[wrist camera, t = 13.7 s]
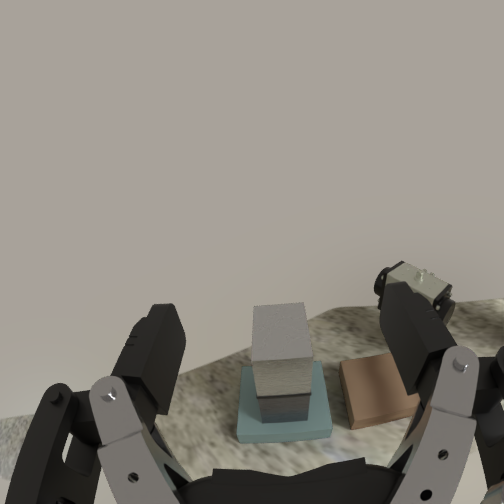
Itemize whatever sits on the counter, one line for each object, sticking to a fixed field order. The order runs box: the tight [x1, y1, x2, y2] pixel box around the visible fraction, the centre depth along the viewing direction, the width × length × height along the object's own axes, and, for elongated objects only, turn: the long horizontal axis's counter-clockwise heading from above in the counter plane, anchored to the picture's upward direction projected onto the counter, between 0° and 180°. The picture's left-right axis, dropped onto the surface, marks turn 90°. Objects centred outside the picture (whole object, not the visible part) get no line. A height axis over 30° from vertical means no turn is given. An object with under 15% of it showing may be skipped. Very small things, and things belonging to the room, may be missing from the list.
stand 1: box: [237, 361, 333, 443], centre depth 29 cm, size 10×10×2 cm
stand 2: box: [339, 353, 420, 430], centre depth 28 cm, size 9×9×2 cm
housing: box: [251, 303, 313, 424], centre depth 26 cm, size 5×7×11 cm
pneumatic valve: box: [374, 261, 455, 326], centre depth 33 cm, size 6×12×12 cm, turn 29°
